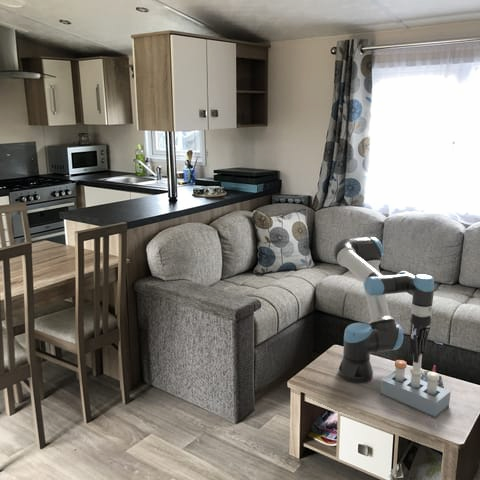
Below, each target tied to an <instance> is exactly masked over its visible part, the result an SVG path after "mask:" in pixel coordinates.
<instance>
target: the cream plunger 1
mask: <svg viewBox="0 0 480 480" xmlns="http://www.w3.org/2000/svg"><path fill="white" fill-rule="evenodd" d="M423 372H424V371H423V368H422V367H421V369H420V370H417V369H414V368H413V366H411V367H410V371H409V373H410V376H411V385H410V387H412V388H414V389H417V390H419V389H420V380H421V375H422V373H423Z"/></svg>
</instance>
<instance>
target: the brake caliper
mask: <svg viewBox="0 0 480 480" xmlns="http://www.w3.org/2000/svg"><path fill="white" fill-rule="evenodd" d="M428 372H435V373H437V372H436V365H435V364H434V365H433V366H432V369H431V371H429V370H424V371H422V375H421V379H420V380H423V381H426V382H428V379H427V373H428ZM443 381H444V380H443V378H442V375H440V374H439V380H438V381H437V386H438V387H441V388H444V389H445V385H444V382H443Z"/></svg>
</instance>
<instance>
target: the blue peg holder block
mask: <svg viewBox="0 0 480 480" xmlns="http://www.w3.org/2000/svg"><path fill="white" fill-rule="evenodd" d="M395 373H396V370H394V371H392V372H391V373H389V374H388V375H386V376H385V377H383V378H381V381H380V392H379V393H380V394H379V395H380V396H382V397H384V398H387V399H389V400H391V401H393V402H395V403H398V404H400V405H403V406H404V407H407V408H409V409H411V410H414V411H417V412H418V413H421V414H423V415H425V416H428V417H430V418H432V419H434V420H436V419H437V418H438V417H439V416H441V415H442V413H444V412H445V411H446V410H447V409H448V408H449V407H450V399H451V390H449V389H447V388H445V387H444V388H441V387H438V386H437V392H436V396H435V397H434V396H432V395H429V394H427V383H428V382H426V381H423V380H421V379H420V389H419V390H417V389H414V388H412V387H410V385H411V374H407V373H405V375H404V382H403V383H400V382H397V381H395Z"/></svg>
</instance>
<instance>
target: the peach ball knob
mask: <svg viewBox="0 0 480 480" xmlns="http://www.w3.org/2000/svg"><path fill="white" fill-rule="evenodd" d="M407 365H408V364H407V361H405V360H403V359H402V360H401V359H397V360H395V361H394V367H395V371H396V373H395V381H397V382H400V383H403V382H404V375H405V374H406V373H405V372H406V369H407Z"/></svg>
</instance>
